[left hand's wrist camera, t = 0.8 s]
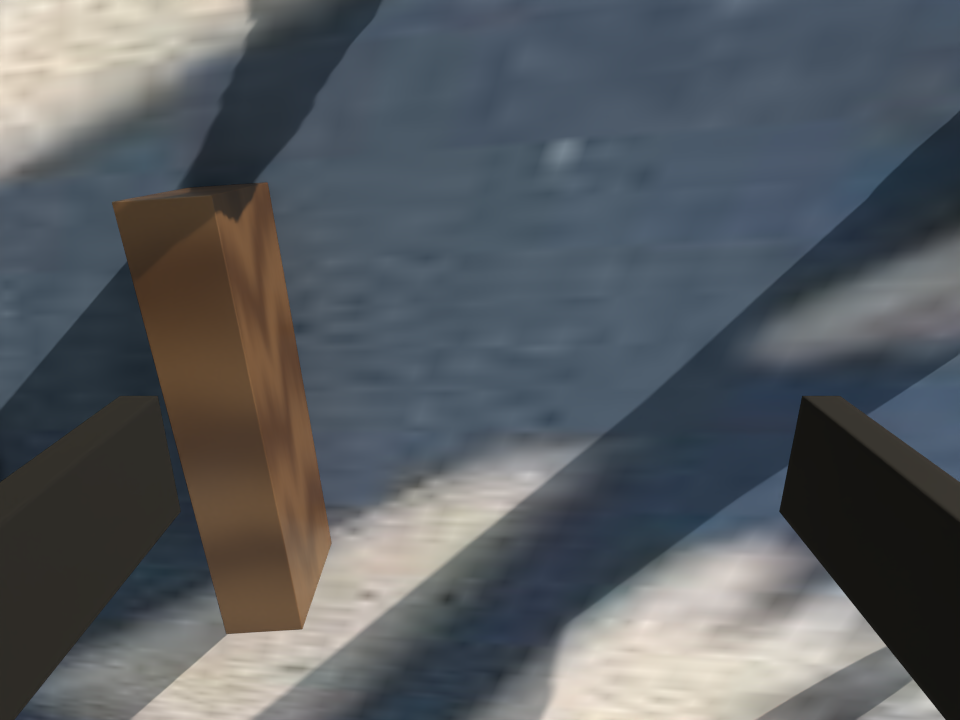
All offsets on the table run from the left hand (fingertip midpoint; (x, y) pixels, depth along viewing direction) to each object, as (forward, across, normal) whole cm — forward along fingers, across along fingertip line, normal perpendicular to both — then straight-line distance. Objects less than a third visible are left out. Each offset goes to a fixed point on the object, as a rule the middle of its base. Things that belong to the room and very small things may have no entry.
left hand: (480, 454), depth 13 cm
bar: (+29, -15, -10) cm, 34 cm away
